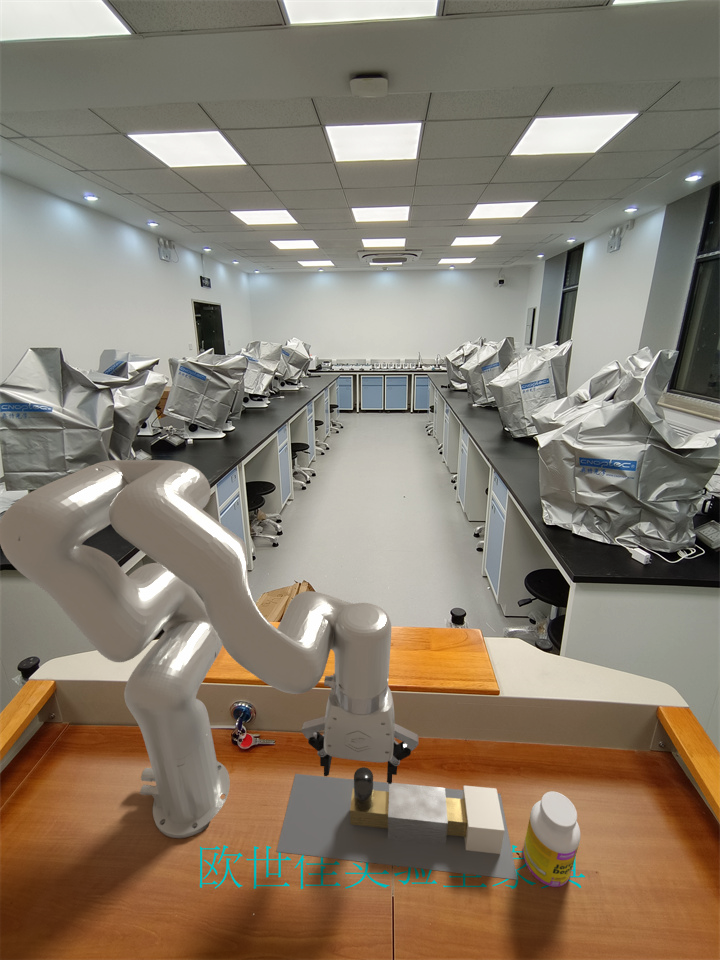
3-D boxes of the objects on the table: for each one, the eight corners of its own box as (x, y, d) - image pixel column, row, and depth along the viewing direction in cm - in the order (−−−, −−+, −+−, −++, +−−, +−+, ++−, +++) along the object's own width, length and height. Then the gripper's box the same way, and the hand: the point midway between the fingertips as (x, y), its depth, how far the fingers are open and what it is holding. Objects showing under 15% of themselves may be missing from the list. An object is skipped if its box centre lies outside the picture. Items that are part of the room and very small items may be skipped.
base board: (277, 856, 66) (276, 851, 65) (295, 778, 77) (295, 773, 76) (516, 884, 62) (517, 879, 62) (499, 798, 73) (500, 793, 73)
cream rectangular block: (465, 850, 65) (468, 826, 63) (461, 808, 71) (463, 785, 69) (500, 853, 65) (504, 830, 63) (493, 811, 70) (496, 788, 68)
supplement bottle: (548, 902, 60) (562, 845, 56) (512, 853, 66) (523, 798, 61) (579, 875, 63) (595, 818, 58) (543, 830, 68) (555, 776, 64)
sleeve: (387, 838, 67) (388, 817, 65) (389, 803, 71) (389, 782, 70) (445, 844, 66) (447, 823, 64) (443, 808, 71) (444, 787, 69)
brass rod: (350, 824, 68) (349, 786, 65) (353, 801, 71) (352, 764, 68) (491, 839, 66) (497, 801, 62) (487, 815, 69) (492, 778, 66)
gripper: (294, 703, 57) (298, 788, 63) (424, 717, 55) (415, 803, 61) (306, 661, 64) (308, 742, 70) (422, 672, 62) (414, 754, 68)
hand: (358, 770), depth 66 cm, fingers open, 9 cm apart
